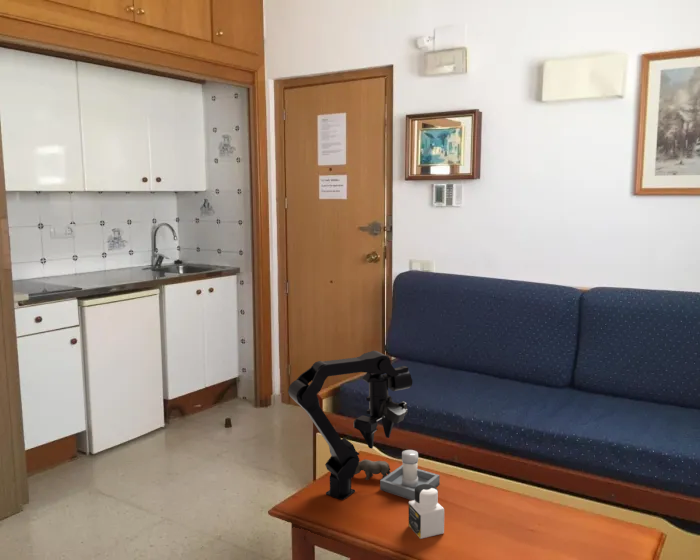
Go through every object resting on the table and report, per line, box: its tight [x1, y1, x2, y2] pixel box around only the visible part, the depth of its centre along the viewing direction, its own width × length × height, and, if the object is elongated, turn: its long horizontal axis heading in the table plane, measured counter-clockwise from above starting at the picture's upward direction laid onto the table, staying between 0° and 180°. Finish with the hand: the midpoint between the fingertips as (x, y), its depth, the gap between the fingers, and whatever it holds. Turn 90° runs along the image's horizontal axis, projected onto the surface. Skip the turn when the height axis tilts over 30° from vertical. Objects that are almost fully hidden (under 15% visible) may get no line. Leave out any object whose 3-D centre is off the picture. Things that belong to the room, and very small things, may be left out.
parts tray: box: [379, 464, 441, 501], centre depth 194 cm, size 13×13×3 cm
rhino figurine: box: [354, 459, 392, 481], centre depth 200 cm, size 4×14×6 cm, turn 78°
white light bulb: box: [401, 449, 419, 488], centre depth 193 cm, size 5×5×10 cm
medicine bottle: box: [408, 484, 445, 540], centre depth 170 cm, size 7×7×12 cm
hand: (379, 442), depth 195 cm, fingers open, 9 cm apart
